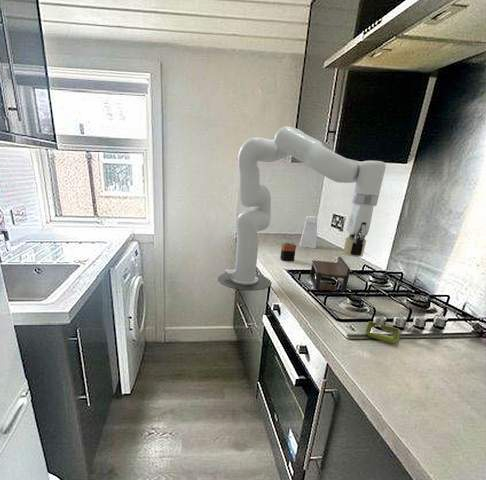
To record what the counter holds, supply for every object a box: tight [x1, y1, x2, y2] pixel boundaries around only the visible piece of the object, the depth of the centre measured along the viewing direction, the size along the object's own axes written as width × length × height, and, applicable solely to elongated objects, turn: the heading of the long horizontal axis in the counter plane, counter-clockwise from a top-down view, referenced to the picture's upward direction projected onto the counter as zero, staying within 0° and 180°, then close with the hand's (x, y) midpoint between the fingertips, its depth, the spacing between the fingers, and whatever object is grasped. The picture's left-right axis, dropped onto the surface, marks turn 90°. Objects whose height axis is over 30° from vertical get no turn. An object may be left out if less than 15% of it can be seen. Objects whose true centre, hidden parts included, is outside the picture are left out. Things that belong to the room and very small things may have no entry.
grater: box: [299, 215, 319, 249], centre depth 204 cm, size 10×10×20 cm
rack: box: [309, 256, 351, 292], centre depth 132 cm, size 12×20×11 cm, turn 168°
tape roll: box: [342, 236, 367, 258], centre depth 106 cm, size 6×6×6 cm
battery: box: [279, 241, 297, 262], centre depth 168 cm, size 4×7×10 cm, turn 96°
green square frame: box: [365, 320, 401, 344], centre depth 91 cm, size 9×9×2 cm
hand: (353, 251), depth 106 cm, fingers closed on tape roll, 6 cm apart
